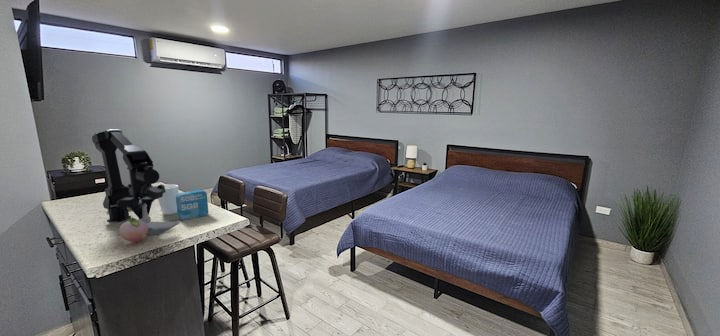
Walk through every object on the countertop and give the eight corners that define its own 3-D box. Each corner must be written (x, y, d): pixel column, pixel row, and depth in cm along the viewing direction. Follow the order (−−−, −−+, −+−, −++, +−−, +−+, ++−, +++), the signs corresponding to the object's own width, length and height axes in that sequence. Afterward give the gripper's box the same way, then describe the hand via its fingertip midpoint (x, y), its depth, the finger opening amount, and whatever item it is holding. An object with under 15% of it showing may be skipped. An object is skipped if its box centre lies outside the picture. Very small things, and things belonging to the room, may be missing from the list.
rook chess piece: (142, 220, 128) (139, 202, 126) (153, 220, 128) (151, 202, 127) (135, 224, 123) (133, 205, 122) (147, 224, 124) (145, 205, 122)
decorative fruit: (116, 244, 111) (112, 218, 110) (141, 236, 118) (138, 212, 117) (127, 250, 107) (124, 223, 105) (153, 241, 113) (150, 216, 112)
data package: (180, 221, 135) (177, 195, 133) (178, 218, 138) (175, 193, 136) (208, 215, 143) (206, 190, 141) (205, 212, 147) (203, 188, 144)
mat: (118, 235, 119) (118, 234, 119) (143, 222, 133) (143, 221, 133) (158, 235, 119) (158, 234, 119) (179, 222, 133) (179, 221, 133)
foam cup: (183, 208, 153) (180, 183, 150) (178, 214, 144) (175, 188, 142) (161, 210, 150) (158, 185, 147) (155, 216, 141) (152, 189, 139)
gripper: (142, 186, 113) (147, 225, 116) (172, 176, 132) (176, 210, 135) (113, 186, 113) (118, 225, 116) (147, 175, 132) (152, 209, 135)
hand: (144, 217), depth 125 cm, fingers closed on rook chess piece, 3 cm apart
